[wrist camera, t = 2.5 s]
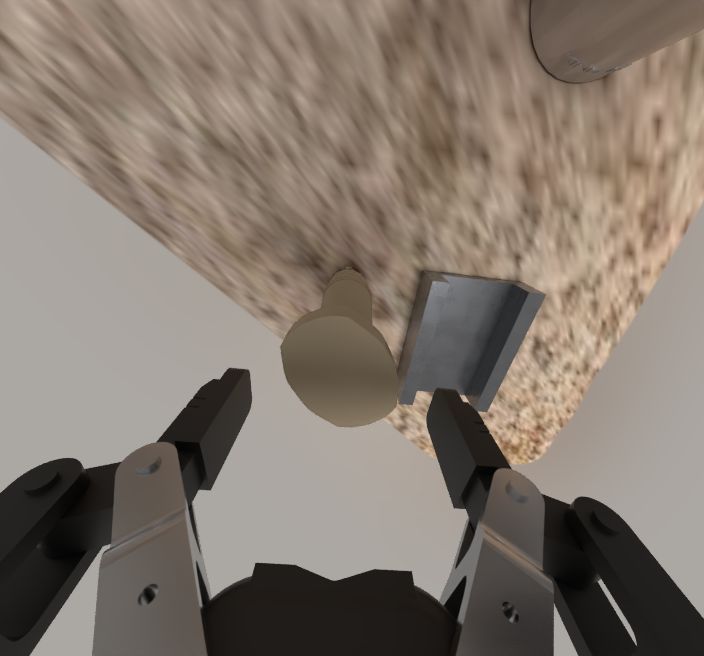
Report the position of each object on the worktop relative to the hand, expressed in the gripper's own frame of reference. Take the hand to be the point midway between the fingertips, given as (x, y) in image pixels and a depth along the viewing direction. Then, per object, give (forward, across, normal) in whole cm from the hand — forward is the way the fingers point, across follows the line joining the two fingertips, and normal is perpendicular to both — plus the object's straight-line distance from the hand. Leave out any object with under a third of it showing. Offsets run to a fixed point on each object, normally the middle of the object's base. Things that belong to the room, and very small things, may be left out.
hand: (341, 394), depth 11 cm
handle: (+16, 0, 0) cm, 16 cm away
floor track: (+16, -12, +5) cm, 20 cm away
